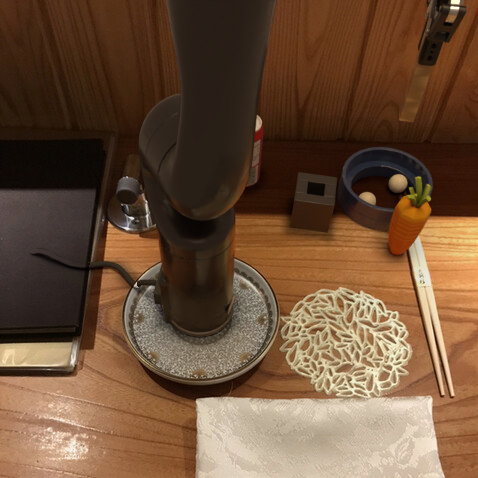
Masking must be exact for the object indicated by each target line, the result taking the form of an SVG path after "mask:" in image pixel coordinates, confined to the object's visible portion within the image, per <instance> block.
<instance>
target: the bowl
mask: <svg viewBox="0 0 478 478" xmlns="http://www.w3.org/2000/svg"><path fill="white" fill-rule="evenodd" d="M397 174H400V175H403V176H405V178H406V179H407V187H406V189H405V190H407V192H408V193H409V195H411V193H410V190H409V187H413V188H414V192H415V194H416V184H415V177H421V181H422V194H421V197H422V195H423V192H424V189H425V186H426V184H429V185H430V186H431V189H430V192H429V194H428V196H430V197H431V194H432V191H433V189H434V188H433V187H434V185H433V181H434V180H433V178H432V175H431V173H430V171H429V169H428V168H427V167H426V166H425V164H424V163H423V162H422V161H421V160H420V159H418V158H417V157H415V156H414V155H411V154H410V153H408V152H406V151H403V150H400V149H397V148H393V147H385V146H375V147H373V146H372V147H368V148H363V149H361V150H359V151H356V152H355V153H353V154H352V155H350V156H349V157H348V158H347V159H346V161H345V162H344V165H343V167H342V169H341V173H340V177H339V181H338V187H337V190H336V198H337V202H338V206H339V208H340V209H341V211H342V212H343V213H344V214H345V215H346V216H347V217H348V218H349V219H350V220H351V221H352V222H355V223H356V224H357V225H359V226H361V227H363V228H366V229H369V230H372V231H377V232H384V233H385V232H386V233H389V226H390V222H391V219H392V216H393V213H394V210H395V208H390V207H381V206H378V205H376V204H375V205H372V204H370V203H368V202H366V201H364V200H363V199H361V198H360V197H359V195H358V194H356V192H354V191H353V189H352V186H354V184H355V183H356V182H357V181H359V180H361V179H363V178H368V177H384V178H388V179H390V178H391V177H392V176H394V175H397Z"/></svg>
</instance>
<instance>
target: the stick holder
mask: <svg viewBox="0 0 478 478" xmlns="http://www.w3.org/2000/svg"><path fill="white" fill-rule="evenodd" d="M337 183H338V177H336V176H329V175H323V174H316V173H306V172H300V171H298V173H297V179H296V183H295V191H294V197H293V202H292V203H293V205H292V209H291V217H290V224H289V228H291V229H298V230H306V231H313V232H319V233H326V234H327V233H329V229H330V226H331V221H332V217H333V215H334V210H335V204H336V196H337Z"/></svg>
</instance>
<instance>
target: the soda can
mask: <svg viewBox="0 0 478 478" xmlns="http://www.w3.org/2000/svg"><path fill="white" fill-rule="evenodd" d="M263 140H264V126H263V120H262V118H261V117H260V116H259V115H258V114H257V121H256V131H255V142H254V152H253V161H252V168H251V172H250V176H249V180H248V182H247V185H246V187H245V188H248V187H251V186H254V185H256V184H257V183H258V182H259V179H260V176H261V164H262V152H263V143H264V141H263Z"/></svg>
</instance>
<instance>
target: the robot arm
mask: <svg viewBox="0 0 478 478" xmlns="http://www.w3.org/2000/svg"><path fill="white" fill-rule="evenodd" d="M164 1H165V7H166V13H167V19H168V23H169V30H170V34H171V39H172V44H173V49H174V54H175V60H176V64H177V71H178V78H179V79H178V80H179V88H180V91H179V92H180V93H176V94H171V95H170V96H168V97H165V98H163V99H162V100H160V101H159V102H158V103H156V105H154V106H153V107H152V108H151V109H150V110H149V112H148V113H147V115H146V116H145V118H144V120H143V123H142V125H141V127H140V130H139V133H138V134H139V135H138V141H137V142H138V145H137V146H138V147H137V148H138V149H137V150H138V157H139V165H140V170H141V175H142V181H143V186H144V190H145V191H144V192H145V196H146V201H147V205H148V209H149V211H150V214H151V217H152V220H153V223H154V224H155V225H154V226H155V228H156V235H157V241H158V248H159V255H160V263H161V265H160V267H159V272H158V275H157V279H151V278H150V279H149V278H147V279H146V278H144V279H143V278H142V279H138V280H137V281H136V280H135V279H134V278H133V277H132V276H131V275H130V274H129V272H128V271H127V270H126V269H125V268H124V267H123V266H122V265H120V264H119V263H117V262H114V261H110V260H97V261H91V263H90V262H89V263H90V265H89V268H88V269H95V268H111V269H113V270H115V271H117V272H118V273H119V275H121V276H122V277H123V279H124V280H125V282H126V283H128V285H129V286H131V287H132V286H133V285H134V283H135V282H137V286H138V287H139V288H138V289H140V288H141V287H143V286H146V287H154V289H153V291H152V295H153V303H154V305H157V306H161V307H162V312H163V319H164V322H165V323H168V324H172V325H173V327H174V328H175V329H177V330H178V331H179V332H180V333H182V334H185V335H187V336H191V337H197V338H203V337H209V336H213V335H215V334H217V333H219V332H221V331H222V330H224V329H225V328H226V326H227V325H229V323H230V321H231V320H232V317H233V314H234V302H235V300H236V294H237V293H236V291H235V292H234V281H235V279H234V277H235V253H236V225H237V224H236V223H237V221H236V212H235V208H234V205H235V204H236V203H237V202H238V200H240V197H242V194H243V193H244V191H245V189H246V188H247V187H246V185H247V182H248V180H249V176H250V172H251V168H252V161H253V152H254V142H255V131H256V121H257V115H258V109H259V101H260V93H261V87H262V80H263V75H264V72H265V71H264V70H265V65H266V60H267V57H268V50H269V45H270V40H271V35H272V31H273V30H272V29H273V24H274V20H275V19H274V18H275V13H276V8H277V3H278V0H164ZM465 1H466V0H426V2H425V4H426V8H427V9H426V12H425V14H424V20H425V22H424V25H423V27H422V28H423V29H422V32H421V35H420V38H419V41H418V44H417V52H418V51H419V47H420V44H421V41H422V38H423V35H424V32H425V33H426V35H425V38H424V41H423V44H422V47H421V51H420V54H419V57H418V63H419V64H420V65H426V66H433V67H434V66H435V65H437V62H438V58H439V57H440V53H441V51H442V47H443V45H444V43H446V44H449V43H450V42H451V40H452V39H453V37H454V35H455V34H456V32H457V29H458V28H459V26H460V25H461V23H462V22H463V20H464V18H465V16H466V14H467V6H466V5H464V4H465ZM429 17H430V20H429V24H428V27H427V29H426V31H425V28H426V25H427V22H428V19H429Z"/></svg>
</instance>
